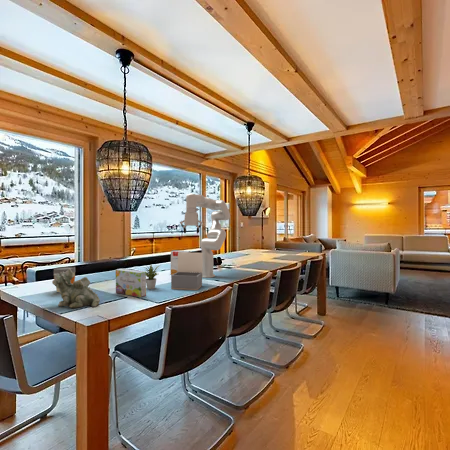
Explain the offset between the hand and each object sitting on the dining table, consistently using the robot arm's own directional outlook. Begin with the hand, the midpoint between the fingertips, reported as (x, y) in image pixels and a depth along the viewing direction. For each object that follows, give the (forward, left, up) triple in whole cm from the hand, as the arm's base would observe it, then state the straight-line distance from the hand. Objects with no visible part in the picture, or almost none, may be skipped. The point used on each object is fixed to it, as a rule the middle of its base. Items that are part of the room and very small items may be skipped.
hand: (191, 233), depth 221 cm
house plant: (+24, -21, -36) cm, 48 cm away
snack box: (+43, -27, -36) cm, 63 cm away
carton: (+18, +2, -36) cm, 40 cm away
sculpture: (+68, -46, -36) cm, 90 cm away
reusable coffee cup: (+43, -72, -36) cm, 92 cm away
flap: (+10, +2, -20) cm, 23 cm away
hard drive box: (-27, -17, -36) cm, 49 cm away
